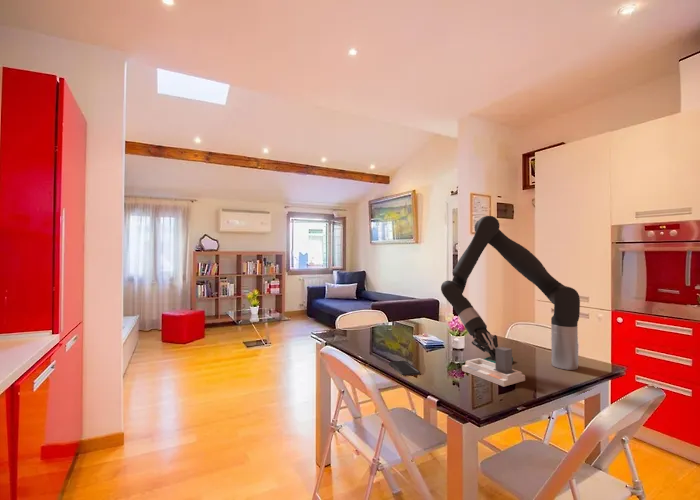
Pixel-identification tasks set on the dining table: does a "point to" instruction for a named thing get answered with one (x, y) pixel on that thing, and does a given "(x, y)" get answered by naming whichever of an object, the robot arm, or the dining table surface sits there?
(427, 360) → the dining table surface
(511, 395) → the dining table surface
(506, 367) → the slider tab
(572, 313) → the robot arm
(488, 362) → the switch housing
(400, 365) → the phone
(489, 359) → the digital multimeter
